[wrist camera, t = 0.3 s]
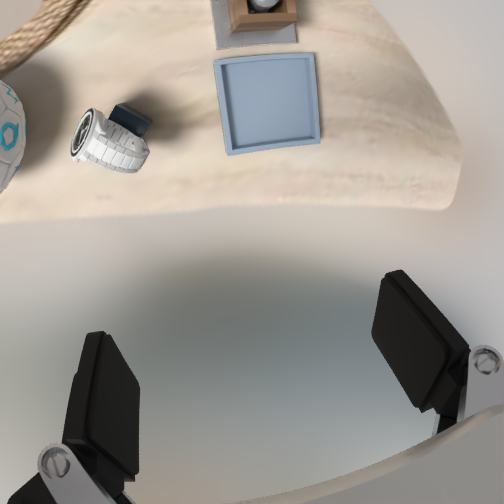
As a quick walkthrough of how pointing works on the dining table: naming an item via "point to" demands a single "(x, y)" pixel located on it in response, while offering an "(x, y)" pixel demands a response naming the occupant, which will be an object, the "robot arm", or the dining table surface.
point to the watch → (112, 139)
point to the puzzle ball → (10, 134)
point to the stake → (256, 4)
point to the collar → (261, 16)
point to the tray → (267, 101)
